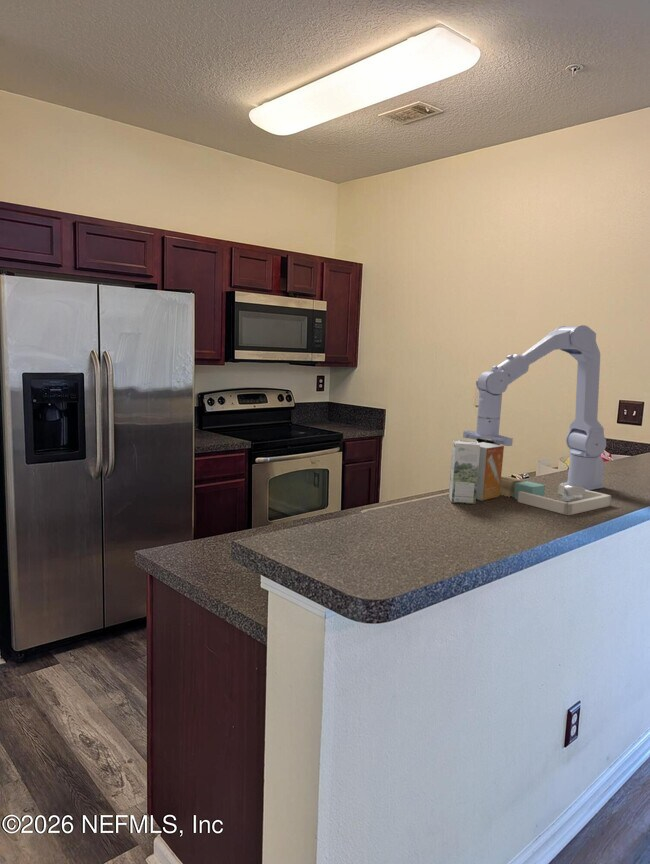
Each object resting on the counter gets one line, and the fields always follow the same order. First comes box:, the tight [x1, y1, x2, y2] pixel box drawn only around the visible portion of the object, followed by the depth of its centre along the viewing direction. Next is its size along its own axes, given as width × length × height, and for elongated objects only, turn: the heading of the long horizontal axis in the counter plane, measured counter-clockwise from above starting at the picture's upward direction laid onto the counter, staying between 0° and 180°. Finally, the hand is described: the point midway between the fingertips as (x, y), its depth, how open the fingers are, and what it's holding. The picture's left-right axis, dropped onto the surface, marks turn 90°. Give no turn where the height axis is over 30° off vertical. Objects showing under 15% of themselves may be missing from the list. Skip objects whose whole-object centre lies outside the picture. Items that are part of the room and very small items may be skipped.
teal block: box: [513, 480, 546, 500], centre depth 150 cm, size 5×5×4 cm
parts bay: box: [517, 483, 612, 516], centre depth 147 cm, size 18×13×2 cm
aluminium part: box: [561, 484, 585, 503], centre depth 149 cm, size 5×5×4 cm
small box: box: [476, 442, 505, 501], centre depth 150 cm, size 8×6×13 cm
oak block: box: [499, 475, 523, 498], centre depth 155 cm, size 5×5×4 cm
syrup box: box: [448, 439, 480, 505], centre depth 144 cm, size 6×6×14 cm
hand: (484, 468), depth 160 cm, fingers closed
